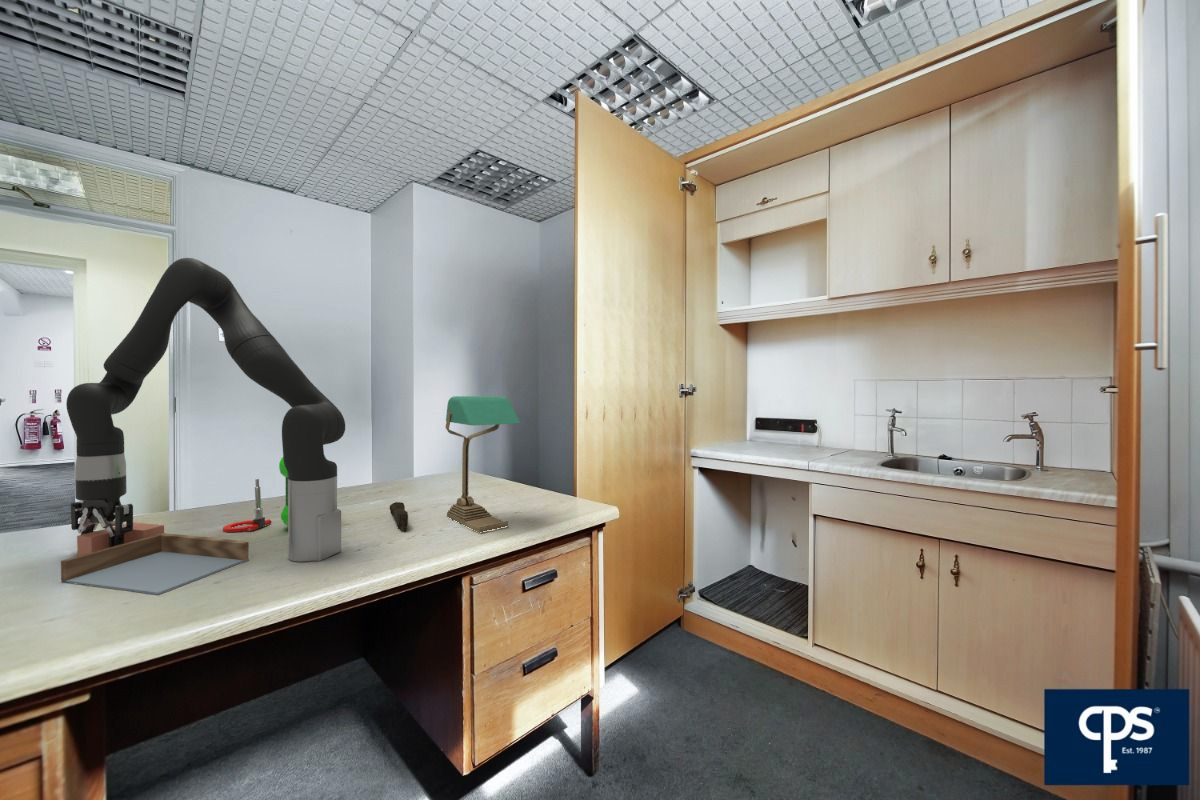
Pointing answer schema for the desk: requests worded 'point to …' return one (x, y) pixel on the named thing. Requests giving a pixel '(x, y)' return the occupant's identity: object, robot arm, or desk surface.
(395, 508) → the dark brown rough bar
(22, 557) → the desk surface
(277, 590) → the desk surface
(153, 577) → the rubber mat
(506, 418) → the banker's lamp
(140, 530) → the bracket
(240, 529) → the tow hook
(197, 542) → the walnut corner walls
